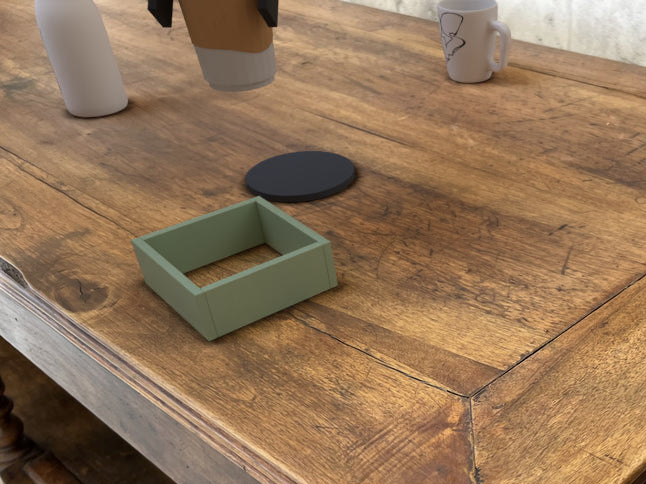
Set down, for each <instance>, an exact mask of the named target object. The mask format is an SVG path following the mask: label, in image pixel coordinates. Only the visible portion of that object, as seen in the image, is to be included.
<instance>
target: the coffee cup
mask: <svg viewBox="0 0 646 484" xmlns="http://www.w3.org/2000/svg"><path fill="white" fill-rule="evenodd" d="M177 1H178V4H179V6H180V10H181V13H182V16H183V20H184V23H185V26H186V29H187V32H188V35H189V38H190V41H191V44H192V45H193V47H194V51H195V53H196V57H197V61H198V64H199V66H200V70H201V73H202V75H203V79H204V81H205V82H207V83H208V85H209V87H210V88H211V89H212V90H216V91H219V92H225V93H237V92H238V93H240V92H249V91H254V90H258V89H262V88H264V87H267V86H269V85H271V84H272V83H273V82H274V81H275V78H276V77H275V75H276V74H277V72H278V70H277V69H278V68H277V61H276V54H275V46H274V32H273V27H268V26H267V24H266V22H265V21H264V19H263V17H262V16H261V14H260V12H259V11H258V9H257V7H258V0H177Z"/></svg>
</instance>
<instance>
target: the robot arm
mask: <svg viewBox="0 0 646 484" xmlns="http://www.w3.org/2000/svg"><path fill="white" fill-rule="evenodd" d="M279 1H280V0H258V7H257V9H258V11H259V12H260V14H261V16H262V17H263V19H264V21H265V22H266V24H267V26H268V27H272V28H278V25H279V24H278V23H279V22H278V21H279V5H280V3H279ZM147 11H148V12H149V13H150V14H151V16H152V17H153V18H154V19H155V21H156V22H157V23H159V25H160V26H161V27H162V28H163V29H167V28H169V29H170V28H173V27H172V26H173V14H174V13H173V12H174V0H147Z"/></svg>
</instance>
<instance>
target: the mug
mask: <svg viewBox="0 0 646 484" xmlns="http://www.w3.org/2000/svg"><path fill="white" fill-rule="evenodd" d="M436 8H437V18H438V26H439V34H440V40H441V47H442V51H443V55H444V59H445V64H446V69H447V73H448V76H449V78H450V79H451V80H452V81H455V82H458V83H463V84H474V83H481V82H485V81H487V80H488V79H490V78H491V77H492V74H493V73H498V74H499V73H501V72H503V71H505V70H506V69H507V67H508V63H509V57H510V50H511V45H512V32H511V30H510V28H509V26H508V25H507V24H506V23H504V22H502V21H499V20H498V14H499V13H498V12H499V11H498V10H499V5H498V2H497V0H440V1H438V2H437V7H436ZM498 34H499V37H500V46H499V54H498V55H499V56H498V63H497V62H496V61H495V53H496V47H497V36H498Z"/></svg>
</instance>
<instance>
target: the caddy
mask: <svg viewBox="0 0 646 484" xmlns="http://www.w3.org/2000/svg"><path fill="white" fill-rule="evenodd" d="M130 243H131V245H132V248H133V251H134V253H135V257H136V259H137V263H138V265H139V268H140V271H141V274H142V276H143V280H144V283H145V284H146V285H147V286H148V287H149V288H150V289H151V290H152V291H153V292H155V293H156V294H157V295H158V296H159V297H160V298H161V299H162V300H164V302H165V303H166V304H167V305H169V306H170V307H171V308H172V309H173V310H174V311H175V312H176V313H177V314H179V315H180V317H182V319H184V320H185V321H186V322H187V323H188V324H190V326H192V327H193V329H195V330H196V331H197V332H198V333H199V334H200V335H201V336H203V338H204V339H206V340H207V341H208V342H211V341H213V340H216V339H217V338H221V337H223V336H225V335H227V334H229V333H232V332H234V331H237V330H238V329H241V328H243V327H246V326H248V325H250V324H253V323H255V322H257V321H260V320H261V319H264V318H266V317H269V316H271V315H273V314H276V313H277V312H281V311H282V310H285V309H287V308H289V307H291V306H294V305H296V304H298V303H301V302H303V301H305V300H308V299H310V298H312V297H315V296H317V295H319V294H321V293H322V294H323V292H326V291H329V290H330V289H333V288H335V287H337V286H338V285H339V283H338V277H337V273H336V272H337V271H336V265H335V261H334V255H333V250H332V249H333V247H332V242H331V240H329V239H327V238H326V237H324V236H322V235H321V234H319V233H318V232H316V231H314V230H313V229H311V228H310V227H309V226H307V225H305V224H304V223H302V222H301V221H300V220H297V219H296V218H294V217H293V216H291V215H290V214H289V213H287V212H285V211H283V210H282V209H280V208H278V207H277V206H276V205H274V204H272V203H271V202H269V200H266V199H263V198H261V197H260V196H254V197H251V198H249V199H246V200H243V201H240V202H237V203H234V204H231V205H227V206H225V207H223V208H219V209H217V210H214V211H211V212H208V213H204V214H202V215H199V216H196V217H194V218H191V219H187V220H185V221H181V222H179V223H176V224H173V225H170V226H167V227H164V228H162V229H159V230H155V231H153V232H150V233H147V234H144V235H141V236H138V237H135V238H132V239H130ZM262 244H266V245H268V246H269V247H270V248H272V249H274V251H277V252H278V253H280V254H281V255H280V256H277V257H276V258H273V259H270V260H268V261H266V262H263V263H259V264H258V265H256V266H255V265H254V266H252V267H250V268H247V269H245V270H242V271H239V272H237V273H235V274H233V275H230V276H227V277H225V278H222V279H220V280H218V281H215V282H212V283H210V284H207V285H204V286H202V287H199V286H198V285H196V283H194V282H193V280H191V279H190V278H188V277H187V276H186V275H185V274H186V273H189V272H191V271H194V270H196V269H199V268H202V267H204V266H207V265H210V264H213V263H215V262H218V261H220V260H223V259H226V258H229V257H230V256H231V257H232V256H233V255H236V254H238V253H242V252H244V251H247V250H249V249H252V248H255V247H257V246H260V245H262Z"/></svg>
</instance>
